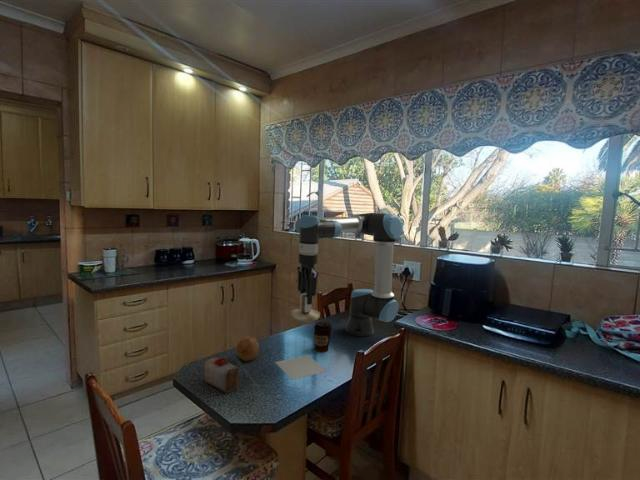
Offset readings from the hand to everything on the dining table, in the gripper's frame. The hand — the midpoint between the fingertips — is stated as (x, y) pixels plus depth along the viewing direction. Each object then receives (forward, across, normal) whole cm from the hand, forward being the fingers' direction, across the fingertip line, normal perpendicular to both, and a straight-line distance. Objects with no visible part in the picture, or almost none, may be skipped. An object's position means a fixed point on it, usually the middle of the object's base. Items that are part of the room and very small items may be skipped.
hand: (305, 310), depth 142 cm
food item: (+24, 0, -34) cm, 42 cm away
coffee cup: (+24, -10, +15) cm, 31 cm away
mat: (+24, +1, -2) cm, 24 cm away
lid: (+2, 0, 0) cm, 2 cm away
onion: (+24, -15, -19) cm, 34 cm away
